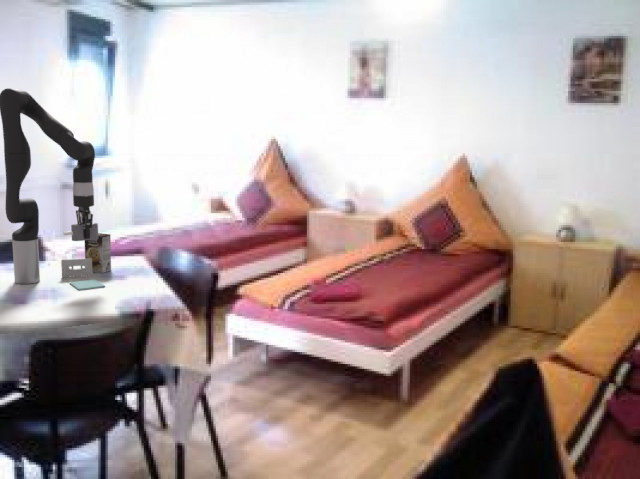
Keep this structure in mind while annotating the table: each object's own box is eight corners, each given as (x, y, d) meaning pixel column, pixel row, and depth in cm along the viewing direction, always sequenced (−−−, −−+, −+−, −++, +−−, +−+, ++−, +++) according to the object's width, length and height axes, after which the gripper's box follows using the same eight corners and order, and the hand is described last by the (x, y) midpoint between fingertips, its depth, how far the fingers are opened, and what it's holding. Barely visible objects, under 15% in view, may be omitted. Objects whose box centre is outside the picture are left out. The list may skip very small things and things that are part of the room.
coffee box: (84, 271, 282) (83, 234, 280) (94, 268, 288) (93, 232, 286) (102, 273, 280) (101, 236, 277) (112, 270, 286) (110, 233, 283)
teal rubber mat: (69, 283, 261) (69, 282, 261) (94, 280, 267) (94, 279, 266) (78, 290, 251) (78, 288, 251) (104, 287, 257) (104, 285, 257)
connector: (63, 240, 253) (62, 225, 252) (96, 237, 260) (95, 222, 259) (66, 242, 249) (65, 226, 248) (99, 239, 257) (99, 224, 256)
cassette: (61, 278, 269) (61, 260, 268) (62, 277, 271) (61, 259, 270) (92, 276, 273) (92, 258, 272) (92, 275, 275) (92, 258, 273)
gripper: (68, 192, 256) (69, 235, 259) (79, 196, 245) (80, 241, 248) (87, 191, 260) (89, 234, 263) (99, 195, 249) (100, 239, 252)
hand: (85, 237), depth 255 cm, fingers closed on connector, 4 cm apart
